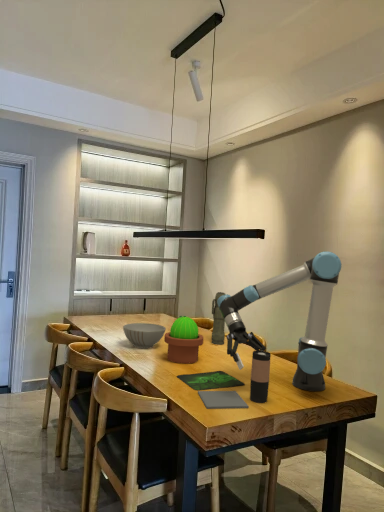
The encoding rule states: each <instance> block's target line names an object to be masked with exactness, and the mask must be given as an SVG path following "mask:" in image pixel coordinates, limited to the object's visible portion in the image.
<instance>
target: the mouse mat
mask: <svg viewBox="0 0 384 512" xmlns="http://www.w3.org/2000/svg"><path fill="white" fill-rule="evenodd" d="M176 378H177V379H179V380H180V381H181V382H183V383H184V384H185V385H187V387H189V388H191V389H192V390H194V391H197V392H198V391H210V390H216V389H224V388H234V387H240V386H245V382H243V381H241V380H239V379H238V378H236V377H234V376H232V375H230V374H228V373H226V371H224V370H223V371H222V370H216V371H207V372H200V373H199V372H198V373H186V374H185V373H183V374H178V375H176Z"/></svg>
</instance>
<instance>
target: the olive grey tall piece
mask: <svg viewBox="0 0 384 512" xmlns="http://www.w3.org/2000/svg"><path fill="white" fill-rule="evenodd" d="M222 295H226V293H225V292H221V291H220V292H216V294H215V296H214V299H212V303H211V304H212V305H211V315H212V319H213V324H212V332H211V344H212V345H216V346H219V345H220V346H223V345H224V344H225V337H226V336H225V335H226V333H225V325H226V323H225V320H224V318H223V316H222V313H221V311H220V310H219V306H218V304H217V300H218V298H219V297H221V296H222Z"/></svg>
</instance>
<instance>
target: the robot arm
mask: <svg viewBox="0 0 384 512" xmlns="http://www.w3.org/2000/svg"><path fill="white" fill-rule="evenodd" d="M341 270H342V262H341V259H340V257H339V256H338V255H337V254H336V253H334V252H332V251H322V252H319V253H317V254H316V255H315V256H314V257H312V258H311V259H308V260H307V261H304V263H303V264H302V265H299V266H297V267H295V268H293V269H289V270H286V271H285V272H282V273H280V274H277V275H275V276H272V277H270V278H267V279H265V280H263V281H260V282H258V283H256V284H253V285H248V286H246V287H244V288H243V289H241V290H240V291H238V292H237V293H235V294H233V295H230V294H226V293H225V294H226V295H222V296H221V297H219V298H218V300H217V304H218V306H219V310H220V311H221V313H222V316H223V318H224V320H225V325H226V327H227V328H228V329H227V330H228V331H229V333H227V335H226V336H225V337H226V340H227V342H226V343H227V344H226V354H227V355H229V356H230V358H231V357H232V359H233V361H234V362H235V363H236V365H237V368H238V370H239V371H240V370H243V368H244V367H245V366H244V364H243V361H242V359H241V356H240V355H239V352H238V351H237V349H238V347H239V345H241V344H242V345H243V344H246V345H248V346H249V347H251V348H252V349H253V350H254V351H265V350H266V349H267V348H266V346H265V345H264V344H263V343H262V342H261V341H260V339H259V338H257V337H256V335H255V334H254V332H253V331H250V332H249V333H248V332H247V328H246V325H245V323H244V322H243V320H242V318H241V315H240V312H239V311H240V310H242V309H243V308H245V307H247V306H249V305H250V304H252V303H255V302H256V301H258V300H260V299H263V298H266V297H268V296H271V295H274V294H276V293H280V292H281V291H284V290H286V289H289V288H292V287H294V286H296V285H299V284H301V283H304V282H307V281H309V280H310V282H311V283H312V289H311V295H310V300H309V301H310V302H309V307H308V313H307V319H306V320H307V321H306V326H305V333H304V336H301V337H299V338H298V343H297V344H298V348H297V358H296V359H297V364H296V370H295V373H294V375H293V377H292V383H291V384H292V385H293V386H294V387H295V388H297V389H301V390H304V391H309V392H322V391H324V390H326V382H325V378H324V373H323V371H324V369H325V367H326V365H327V358H326V357H327V351H328V343H327V342H326V334H327V327H328V323H329V322H328V321H329V316H330V315H329V314H330V309H331V302H332V296H333V291H334V288H335V286H336V285H338V282H339V275H340V272H341ZM233 340H234V342H233Z"/></svg>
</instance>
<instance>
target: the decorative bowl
mask: <svg viewBox="0 0 384 512" xmlns="http://www.w3.org/2000/svg"><path fill="white" fill-rule="evenodd" d="M122 329H123V334H124V336H125V337H126V339H127V340H128V342H129V343H131V344H133V347H135V348H136V349H137V348H138V349H152V348H153V347H154V346H155V345H156V344H157V343H159V342H160V341H161V340H162V338H163V336H165V334H166V333H165V332H166V329H167V328H166V327H165V326H164V325H160V324H157V323H156V324H155V323H145V322H143V323H142V322H133V323H126V324H124V325H122Z"/></svg>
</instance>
